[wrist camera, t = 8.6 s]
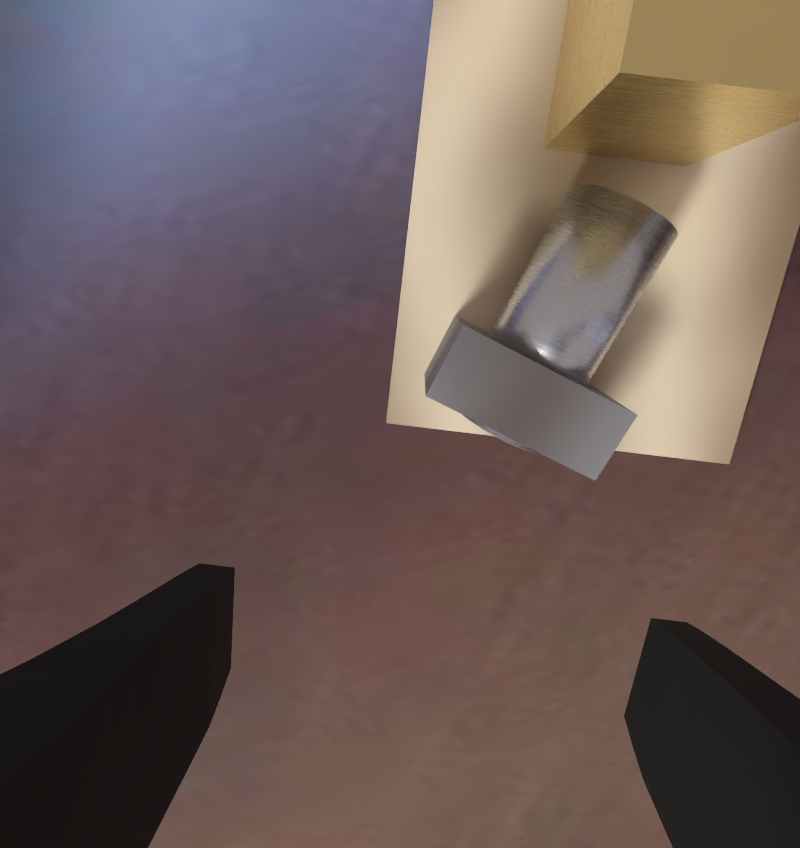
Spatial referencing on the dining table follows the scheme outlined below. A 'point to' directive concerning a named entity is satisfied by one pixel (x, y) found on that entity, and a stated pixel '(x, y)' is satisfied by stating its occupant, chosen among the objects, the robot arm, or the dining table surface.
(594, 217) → the shaft angled
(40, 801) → the robot arm
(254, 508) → the dining table surface
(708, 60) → the yellow rectangular block
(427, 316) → the board
